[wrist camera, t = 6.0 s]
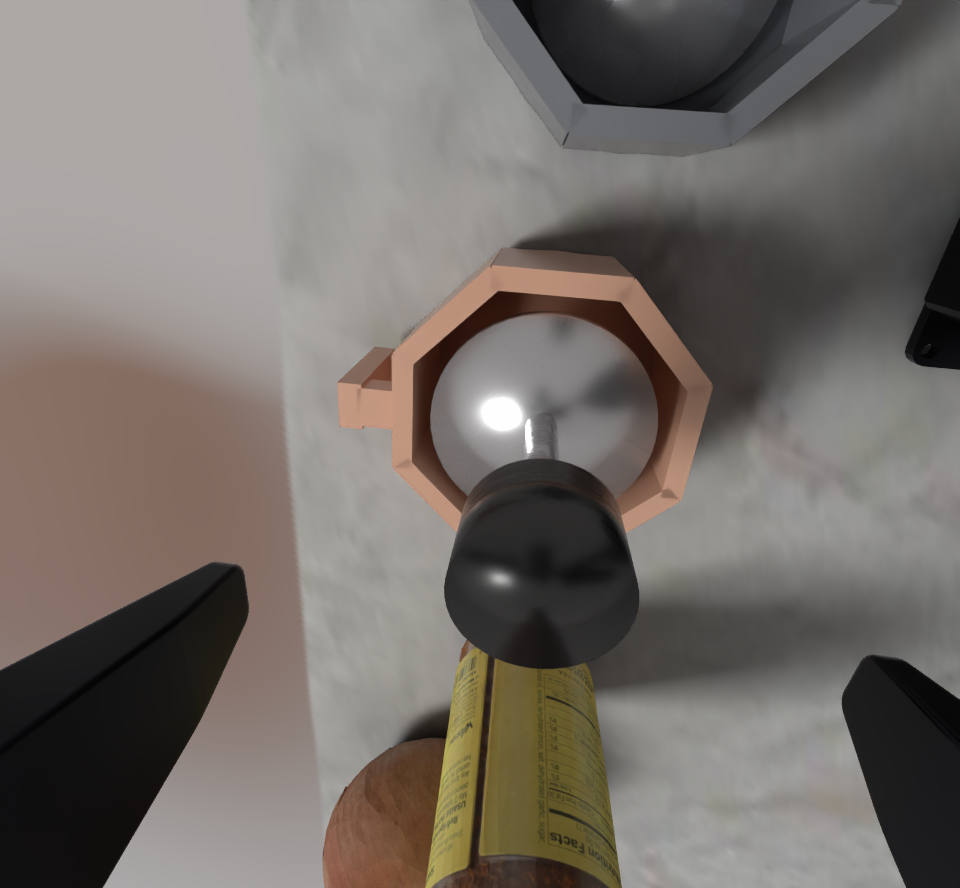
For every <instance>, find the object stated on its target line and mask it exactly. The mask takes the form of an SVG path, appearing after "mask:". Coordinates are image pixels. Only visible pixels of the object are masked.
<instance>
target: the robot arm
mask: <svg viewBox="0 0 960 888" xmlns="http://www.w3.org/2000/svg"><path fill="white" fill-rule="evenodd" d="M924 300H925V304H924V307H923V309H922V311H921V314H920V316H919V318H918V320H917V323H916V325H915V327H914V330H913V332H912V334H911V337H910V339H909V341H908V344H907V346H906V350H905V354H906V357H907V358H908V359H909V360H910V361H911V362H913V363H915V364H918V365H921V366H926V367H937V368H947V369H958V370H960V218H959V220H958V222H957V225H956V227H955V229H954V231H953V234H952V236H951V238H950V241H949V243H948V245H947V248H946V250H945V252H944V255H943V257H942V259H941V262H940V264H939V266H938V269H937V271H936V273H935V275H934V278H933V280H932V282H931V285H930V287H929V289H928V292H927V294H926V296H925V299H924ZM928 344H931V348H930V350H929V351H928V352H927V353H926V354H924V355H921V351H922V349H923V348H924V347H925V346H927V345H928ZM248 612H249V603H248V596H247V589H246V582H245V575H244V571H243V569H242V567H241V566H239V565H237V564H230V563H223V562H212V563H210V564H207V565H205V566H203V567H201V568H199V569H197V570H195V571H193V572H191V573H189V574H187V575H186V576H184V577H182V578H180V579H178V580H176V581H174V582H172V583H170V584H168V585H166V586H164V587H162V588H160V589H158V590H156V591H154V592H152V593H150V594H148V595H146V596H144V597H142V598H140V599H139V600H137V601H135V602H133V603H131V604H129V605H127V606H125V607H123V608H121V609H119V610H117V611H115V612H113V613H111V614H109V615H107V616H105V617H103V618H102V619H99V620H97V621H95V622H93V623H92V624H90V625H88V626H86V627H84V628H82V629H80V630H78V631H76V632H74V633H72V634H70V635H68V636H66V637H65V638H62V639H60V640H58V641H56V642H55V643H52V644H50V645H48V646H46V647H45V648H43V649H41V650H39V651H37V652H35V653H33V654H31V655H29V656H27V657H25V658H23V659H21V660H19V661H17V662H15V663H13V664H11V665H9V666H7V667H5V668H3V669H1V670H0V888H103V886H104V885H105V883H106V881H107V879H108V878H109V876H110V874H111V873H112V871H113V869H114V868H115V866H116V864H117V863H118V861H119V859H120V857H121V856H122V854H123V852H124V851H125V849H126V847H127V845H128V844H129V842H130V840H131V839H132V836H133V835H134V833H135V832H136V830H137V828H138V827H139V825H140V823H141V822H142V820H143V818H144V817H145V815H146V813H147V811H148V810H149V808H150V806H151V804H152V803H153V801H154V799H155V798H156V796H157V794H158V793H159V791H160V789H161V788H162V786H163V784H164V782H165V781H166V779H167V777H168V775H169V774H170V772H171V770H172V769H173V767H174V765H175V764H176V762H177V760H178V758H179V757H180V755H181V753H182V752H183V750H184V748H185V746H186V745H187V743H188V741H189V740H190V738H191V736H192V734H193V733H194V731H195V729H196V727H197V725H198V724H199V722H200V720H201V718H202V716H203V714H204V712H205V710H206V708H207V706H208V704H209V702H210V699H211V697H212V695H213V693H214V691H215V688H216V686H217V684H218V682H219V680H220V678H221V675H222V673H223V671H224V669H225V667H226V665H227V662H228V660H229V658H230V656H231V654H232V651H233V649H234V647H235V645H236V643H237V641H238V639H239V636H240V634H241V632H242V630H243V627H244V626H245V623H246V621H247V617H248ZM842 709H843V714H844V717H845V720H846V723H847V726H848V729H849V732H850V735H851V738H852V741H853V744H854V747H855V750H856V753H857V757H858V760H859V763H860V766H861V769H862V772H863V775H864V778H865V781H866V784H867V787H868V790H869V793H870V796H871V800H872V803H873V806H874V809H875V812H876V814H877V817H878V820H879V823H880V826H881V828H882V831H883V834H884V836H885V838H886V841H887V843H888V846H889V848H890V851H891V853H892V856H893V858H894V860H895V863H896V865H897V867H898V870H899V872H900V874H901V877H902V879H903V881H904V884H905V886H906V888H960V699H958V698H957V697H955V696H954V695H953V694H951V693H950V692H948V691H947V690H945V689H944V688H943V687H941V686H940V685H938V684H937V683H936V682H934V681H933V680H931V679H930V678H929V677H927V676H926V675H924V674H923V673H921V672H920V671H919V670H917V669H916V668H914V667H913V666H912V665H910V664H909V663H907V662H906V661H904V660H902V659H899V658H895V657H888V656H881V655H868V656H866V657H865V658H863V659H862V661H861V662H860V664H859V666H858V667H857V669H856V671H855V673H854V674H853V676H852V678H851V680H850V682H849V683H848V685H847V687H846V689H845V690H844V693H843V696H842Z"/></svg>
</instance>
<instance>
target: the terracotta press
mask: <svg viewBox="0 0 960 888" xmlns="http://www.w3.org/2000/svg"><path fill="white" fill-rule="evenodd" d="M533 311H558V312H565V313H571V314H574V315H578V316H581V317H584V318H587V319H590V320H592V321H594V322H596V323H598V324H601V325H602V326H604V327H605V328H607V329H609V330H610V331H612V332H613V333H615V334H616V335H617V336H618V337H619V338H620V339H622V340H623V341H624V342H625V343H626V344H627V345H628V346H629V347H630V349H631V350H632V351H633V352H634V353H635V354H636V356H637V357H638V359H639V361H640V362H641V364H642V365H643V367H644V369H645V370H646V372H647V374H648V377H649V379H650V381H651V383H652V386H653V389H654V393H655V396H656V400H657V408H658V429H657V435H656V441H655V444H654V447H653V450H652V454H651V456H650V458H649V460H648V462H647V464H646V466H645V468H644V469H643V471H642V472H641V474H640V475H639V477H638V478H637V479H636V480H635V481H634V483H633V484H632V485H631V486H630V487H629V488H628V489H627V490H626V491H625V492H624V493H623V494H622V495H620V496H619V497H618V498H617V499H615V500H616V501H617V503H618V506H619V509H620V512H621V515H622V519H623V524H624V528H625V532H626V533H627V532H629V531H630V530H632V529H634V528H636V527H637V526H639V525H641V524H642V523H644V522H646V521H648V520H649V519H651V518H653V517H654V516H656V515H658V514H660V513H661V512H663V511H665V510H666V509H668V508H670V507H672V506H673V505H675V504H677V503H678V502H680V500H682V497H683V493H684V490H685V486H686V483H687V479H688V475H689V472H690V468H691V465H692V461H693V457H694V454H695V450H696V447H697V443H698V440H699V436H700V432H701V429H702V425H703V422H704V418H705V414H706V411H707V407H708V404H709V400H710V396H711V393H712V389H713V386H712V385H713V384H712V383H711V381H710V380H709V379H708V377H707V376H706V374H705V373H704V372H703V370H702V369H701V368H700V366H699V365H698V363H697V362H696V361H695V359H694V358H693V356H692V355H691V354H690V352H689V351H688V350H687V348H686V347H685V345H684V344H683V343H682V341H681V340H680V339H679V337H678V336H677V334H676V333H675V332H674V330H673V329H672V328H671V326H670V325H669V323H668V322H667V321H666V319H665V318H664V317H663V315H662V314H661V312H660V311H659V310H658V308H657V307H656V305H655V304H654V303H653V301H652V300H651V299H650V297H649V296H648V294H647V293H646V292H645V290H644V289H643V288H642V286H641V285H640V283H639V282H638V281H637V279H636V278H635V277H634V276H633V275H632V274H631V273H630V272H629V271H628V270H627V269H626V268H625V267H624V266H623V265H622V264H621V263H620V262H619V261H618V260H617V259H615V258H614V257H611V256H599V255H587V254H577V253H573V252H567V251H560V250H528V249H516V248H503V249H500V250H499V251H498V252H497V253H496V254H495V255H494V256H493V257H492V258H490V259H489V260H488V261H487V262H486V263H485V264H484V265H483V266H482V267H480V268H479V269H478V270H477V271H476V272H475V273H474V274H473V275H472V276H470V277H469V278H468V279H467V280H465V281H464V282H463V283H462V284H461V285H460V286H459V287H458V288H457V289H456V290H455V291H454V292H453V293H452V294H450V295H449V296H448V297H447V298H446V299H445V300H444V301H443V302H442V303H440V304H439V305H438V306H437V307H436V308H435V309H434V310H433V311H432V312H430V313H429V314H428V315H427V316H426V317H425V318H424V319H423V320H422V321H421V322H420V323H419V324H418V326H417V327H416V328H415V329H414V330H413V331H412V332H411V333H410V334H409V335H408V336H407V338H406V339H405V340H404V341H403V342H402V343H401V344H400V345H399V346H398V347H397V348H396V349H391V348H381V347H374V348H373V349H372V350H371V351H370V352H369V353H368V354H367V355H366V356H365V357H364V358H363V359H362V360H361V361H360V362H358V363H357V364H356V365H355V366H354V367H353V368H352V369H351V370H350V371H349V372H348V373H347V374H346V375H345V376H344V377H343V378H341V379H340V380H339V381H338V382H337V386H338V405H339V424H340V427H347V428H356V429H363V428H364V427H375V428H384V429H392V467H393V469H394V470H395V471H396V472H397V473H398V474H399V475H400V476H401V477H402V478H403V479H404V480H405V481H406V482H407V483H408V484H409V485H410V486H411V487H412V488H413V489H414V490H415V491H416V492H417V493H418V494H419V495H420V496H421V497H422V498H423V499H424V500H425V501H426V502H427V503H428V504H429V505H430V506H431V507H432V508H433V509H434V510H435V511H436V512H437V513H438V514H439V515H440V516H441V517H442V518H443V519H444V520H445V521H446V522H447V523H448V524H449V525H450V526H451V527H452V528H453V529H454V530H455V531H456V532H457V530H458V526H459V522H460V518H461V515H462V511H463V507H464V504H465V502H466V500H467V498H468V496H467V495H466V494H465V493H464V492H463V491H462V490H461V489H460V488H459V487H458V486H457V485H456V484H455V483H454V482H453V480H452V479H451V478H450V477H449V475H448V474H447V472H446V471H445V469H444V467H443V466H442V464H441V462H440V459H439V457H438V455H437V453H436V449H435V446H434V443H433V439H432V433H431V421H430V414H431V405H432V399H433V395H434V391H435V388H436V386H437V383H438V381H439V378H440V376H441V374H442V372H443V371H444V369H445V367H446V365H447V364H448V362H449V360H450V359H451V357H452V356H453V355H454V354H455V352H456V351H457V350H458V348H459V347H460V346H461V345H462V344H463V343H464V342H465V341H467V340H468V339H469V338H470V337H471V336H472V335H474V334H475V333H476V332H478V331H479V330H481V329H482V328H484V327H486V326H488V325H489V324H491V323H493V322H495V321H498V320H500V319H503V318H505V317H508V316H511V315H515V314H520V313H524V312H533Z"/></svg>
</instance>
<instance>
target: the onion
mask: <svg viewBox="0 0 960 888" xmlns="http://www.w3.org/2000/svg"><path fill="white" fill-rule="evenodd" d="M445 744H446V739H444V738H424V739H420V740H413V741H408V742H404V743H401V744H399V745H396V746H394V747H392V748H389V749H388V750H386V751H385V752H383V753H382V754H381V755H379V756H378V757H377V758H375V759H374V760H372V761H371V762H370V763H369V764H367V765H366V766H365V767H364V768H363V769H362V770H361V771H360V773H359V774H358V775H357V776H356V777H355V778H354V779H353V780H352V782H351V783H350V784H349V786H348V787H345V789H344V791H343V793H342V795H341V796H340V798H339V800H338V802H337V804H336V806H335V808H334V810H333V812H332V815H331V818H330V821H329V825H328V827H327V830H326V837H325V844H324V850H323V876H324V885H325V888H425V885H426V879H427V872H428V865H429V858H430V852H431V845H432V838H433V831H434V824H435V816H436V809H437V803H438V796H439V789H440V782H441V774H442V767H443V759H444V752H445Z"/></svg>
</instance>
